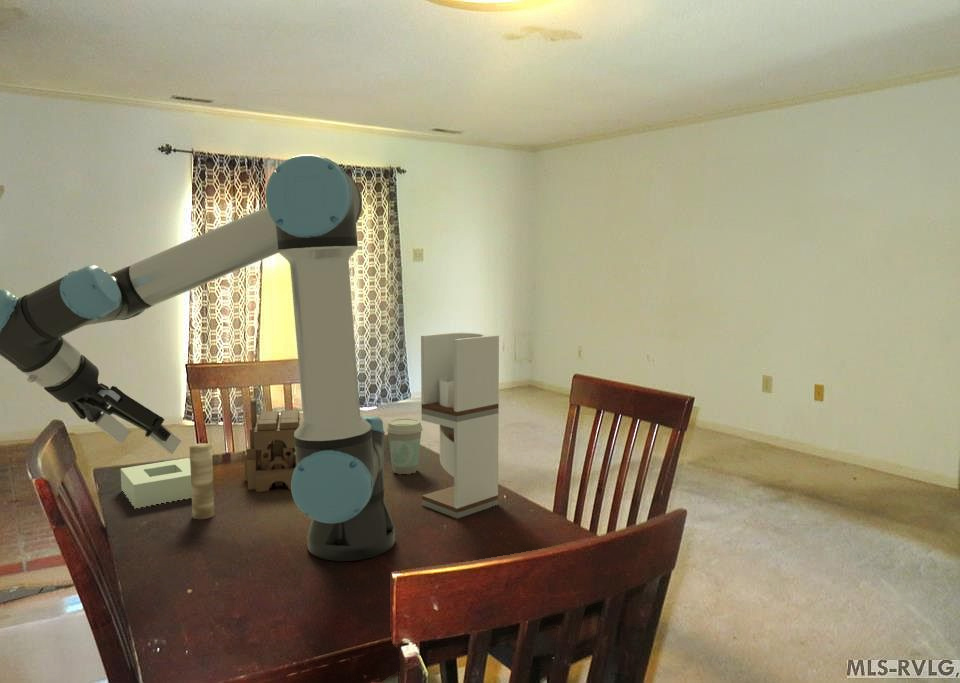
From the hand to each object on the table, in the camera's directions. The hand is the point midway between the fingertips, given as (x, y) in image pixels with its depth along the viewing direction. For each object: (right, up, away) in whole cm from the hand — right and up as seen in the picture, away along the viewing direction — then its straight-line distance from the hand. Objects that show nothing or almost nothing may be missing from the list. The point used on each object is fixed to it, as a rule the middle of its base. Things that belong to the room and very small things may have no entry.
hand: (150, 442), depth 125 cm
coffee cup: (+42, -13, +41) cm, 60 cm away
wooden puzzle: (+12, -13, +37) cm, 42 cm away
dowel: (+5, -16, +11) cm, 20 cm away
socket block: (-9, -14, +25) cm, 30 cm away
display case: (+55, -16, +18) cm, 60 cm away
